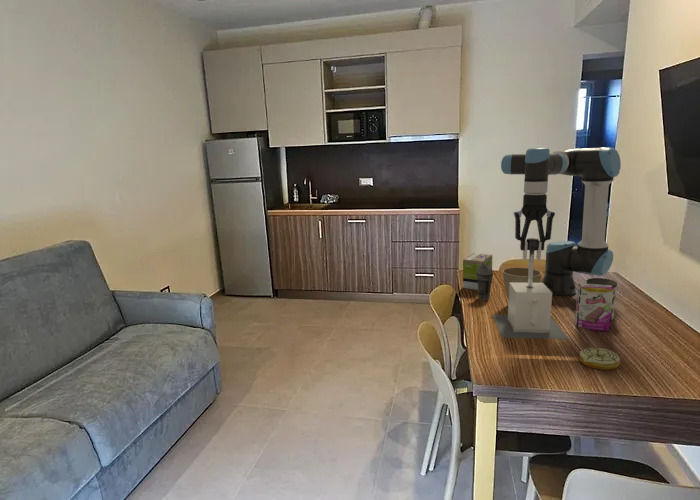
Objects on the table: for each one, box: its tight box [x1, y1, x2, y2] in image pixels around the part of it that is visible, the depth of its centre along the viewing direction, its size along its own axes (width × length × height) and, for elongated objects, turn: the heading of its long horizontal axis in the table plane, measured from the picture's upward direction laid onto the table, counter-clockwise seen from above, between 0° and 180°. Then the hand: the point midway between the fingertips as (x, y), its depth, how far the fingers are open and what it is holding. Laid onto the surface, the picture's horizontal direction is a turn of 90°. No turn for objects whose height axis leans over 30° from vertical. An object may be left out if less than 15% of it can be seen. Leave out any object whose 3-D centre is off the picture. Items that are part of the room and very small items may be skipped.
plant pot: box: [502, 267, 543, 302], centre depth 180 cm, size 15×15×16 cm
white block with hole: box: [507, 282, 553, 333], centre depth 157 cm, size 12×15×15 cm
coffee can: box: [586, 277, 618, 321], centre depth 168 cm, size 10×10×14 cm
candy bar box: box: [574, 282, 615, 333], centre depth 157 cm, size 11×5×16 cm, turn 71°
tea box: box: [462, 252, 493, 291], centre depth 212 cm, size 15×10×15 cm, turn 144°
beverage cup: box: [476, 256, 494, 301], centre depth 193 cm, size 7×7×20 cm
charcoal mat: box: [492, 314, 570, 340], centre depth 160 cm, size 22×22×1 cm
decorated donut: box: [579, 347, 621, 371], centre depth 133 cm, size 10×11×4 cm
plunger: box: [525, 237, 540, 288], centre depth 156 cm, size 10×10×24 cm
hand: (531, 259), depth 155 cm, fingers closed on plunger, 4 cm apart
